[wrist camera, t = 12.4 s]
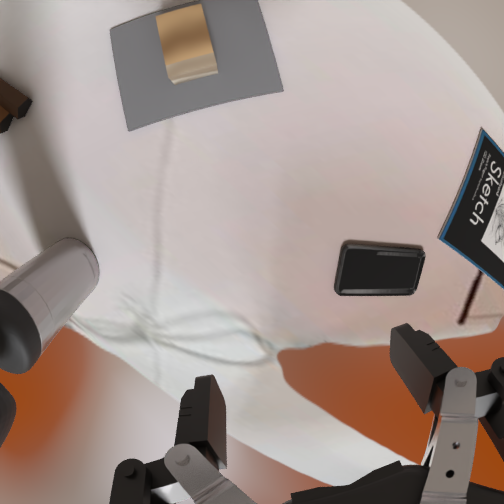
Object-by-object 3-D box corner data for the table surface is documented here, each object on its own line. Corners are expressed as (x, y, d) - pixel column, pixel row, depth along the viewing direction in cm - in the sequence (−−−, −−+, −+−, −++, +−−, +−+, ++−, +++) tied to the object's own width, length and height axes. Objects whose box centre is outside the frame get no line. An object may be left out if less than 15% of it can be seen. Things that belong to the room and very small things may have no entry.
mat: (129, 131, 33) (128, 131, 33) (111, 31, 28) (109, 29, 27) (282, 91, 33) (283, 90, 33) (254, -8, 28) (254, -10, 27)
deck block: (162, 28, 28) (155, 16, 25) (203, 16, 28) (201, 3, 25) (174, 85, 31) (168, 77, 28) (218, 73, 31) (216, 64, 28)
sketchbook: (477, 129, 36) (485, 129, 34) (539, 208, 42) (545, 211, 40) (435, 237, 42) (442, 241, 40) (505, 291, 47) (510, 295, 46)
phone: (414, 295, 43) (334, 295, 42) (411, 292, 45) (331, 292, 43) (427, 250, 41) (344, 244, 40) (423, 248, 42) (341, 241, 41)
